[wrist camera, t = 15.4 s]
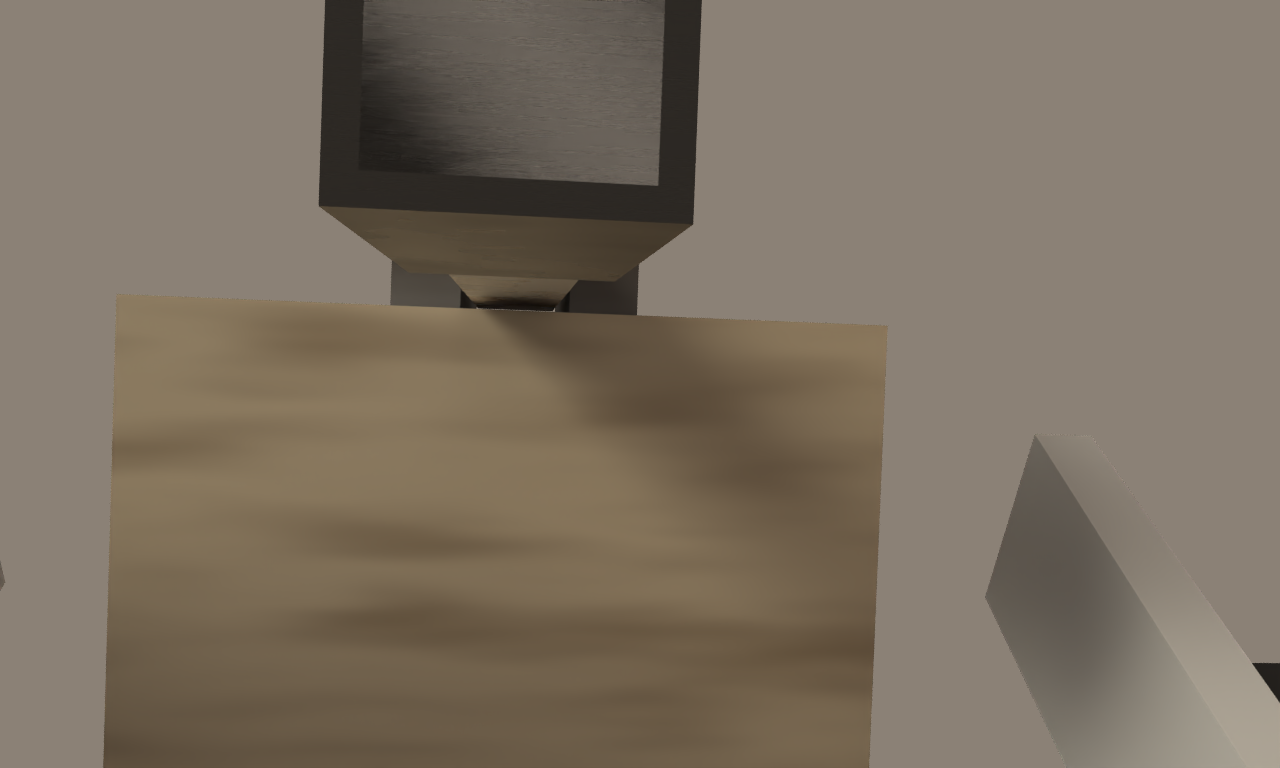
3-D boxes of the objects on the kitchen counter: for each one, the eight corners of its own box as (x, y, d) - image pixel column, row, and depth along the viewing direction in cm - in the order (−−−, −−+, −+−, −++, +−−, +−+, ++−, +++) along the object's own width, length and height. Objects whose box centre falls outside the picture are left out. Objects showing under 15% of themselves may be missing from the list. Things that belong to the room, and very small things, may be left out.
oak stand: (837, 1525, 33) (894, 154, 33) (80, 1571, 31) (122, 111, 30) (717, 1086, 53) (751, 229, 52) (250, 1098, 51) (277, 206, 50)
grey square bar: (693, 223, 10) (707, -145, 10) (318, 206, 10) (330, -177, 10) (560, 320, 40) (564, 229, 40) (468, 317, 39) (472, 224, 39)
